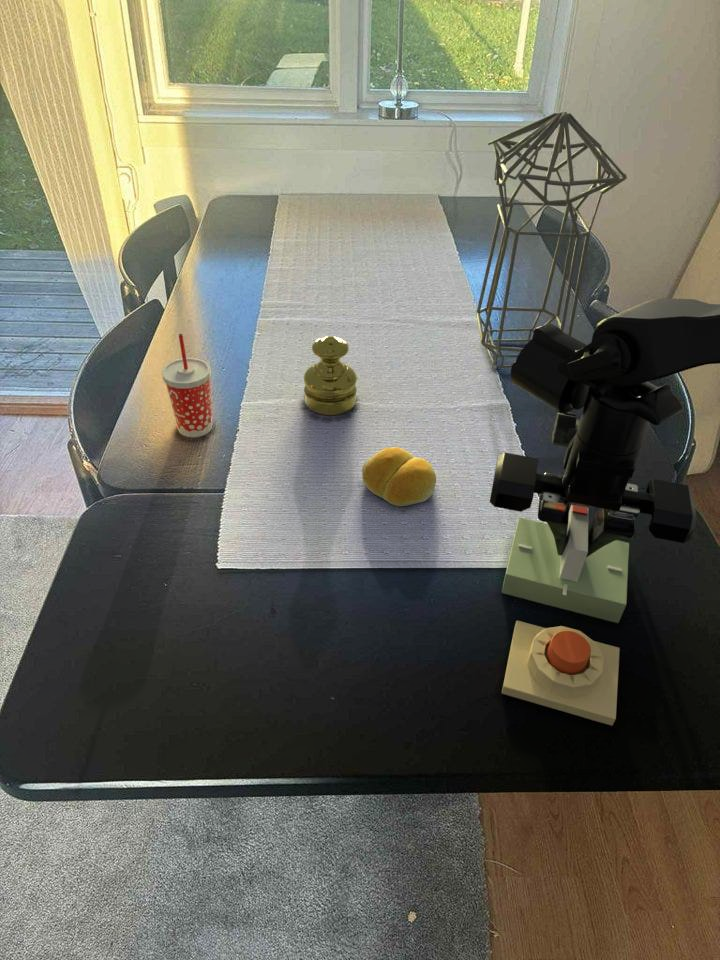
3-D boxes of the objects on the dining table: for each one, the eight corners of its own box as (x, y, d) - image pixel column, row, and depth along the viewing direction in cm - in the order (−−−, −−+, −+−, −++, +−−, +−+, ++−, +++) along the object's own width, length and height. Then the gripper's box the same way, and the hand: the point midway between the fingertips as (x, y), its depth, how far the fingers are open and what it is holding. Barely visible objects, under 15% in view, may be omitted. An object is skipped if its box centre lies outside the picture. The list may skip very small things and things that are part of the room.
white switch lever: (577, 582, 71) (588, 550, 68) (559, 578, 72) (569, 546, 68) (578, 538, 76) (589, 506, 73) (562, 534, 76) (571, 503, 73)
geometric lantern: (554, 332, 117) (609, 99, 94) (575, 385, 105) (644, 132, 82) (460, 329, 116) (492, 95, 94) (470, 381, 105) (509, 127, 82)
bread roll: (410, 518, 82) (413, 493, 79) (351, 485, 86) (352, 460, 83) (449, 483, 87) (453, 458, 84) (392, 453, 91) (393, 429, 88)
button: (587, 647, 66) (592, 636, 65) (584, 679, 63) (589, 667, 62) (549, 637, 66) (553, 625, 65) (544, 667, 64) (548, 656, 63)
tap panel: (622, 556, 78) (630, 536, 76) (617, 630, 71) (626, 610, 69) (515, 530, 81) (520, 510, 79) (499, 599, 73) (504, 579, 71)
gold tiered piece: (309, 419, 96) (308, 356, 90) (300, 389, 102) (298, 328, 95) (361, 413, 98) (363, 350, 91) (349, 384, 103) (351, 323, 97)
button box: (616, 654, 68) (625, 636, 66) (612, 726, 63) (621, 708, 61) (514, 627, 70) (519, 608, 69) (501, 693, 65) (506, 675, 63)
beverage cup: (170, 416, 96) (153, 324, 87) (216, 411, 97) (204, 320, 88) (173, 443, 91) (155, 349, 82) (220, 437, 93) (208, 344, 83)
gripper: (707, 404, 68) (658, 520, 78) (513, 373, 71) (490, 488, 81) (722, 477, 59) (665, 595, 70) (502, 438, 63) (478, 557, 73)
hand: (570, 554), depth 73 cm, fingers closed on white switch lever, 2 cm apart
